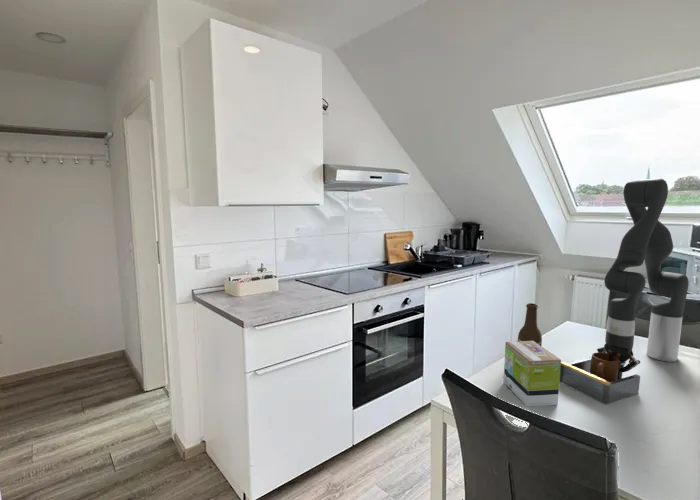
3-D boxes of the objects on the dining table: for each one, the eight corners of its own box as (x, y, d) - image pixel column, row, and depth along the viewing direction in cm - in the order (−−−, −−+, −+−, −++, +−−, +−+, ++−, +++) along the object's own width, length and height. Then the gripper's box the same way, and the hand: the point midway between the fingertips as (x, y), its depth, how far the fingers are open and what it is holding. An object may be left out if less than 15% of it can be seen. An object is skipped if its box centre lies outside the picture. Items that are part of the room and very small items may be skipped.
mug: (611, 397, 117) (614, 368, 116) (583, 388, 122) (585, 361, 121) (618, 383, 126) (621, 356, 125) (591, 376, 131) (594, 350, 130)
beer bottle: (538, 366, 139) (542, 302, 136) (541, 375, 132) (546, 308, 128) (515, 362, 142) (519, 300, 138) (516, 371, 134) (521, 306, 131)
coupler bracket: (590, 373, 133) (592, 354, 132) (638, 393, 119) (640, 373, 118) (559, 381, 127) (560, 362, 126) (605, 404, 113) (607, 383, 112)
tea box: (502, 383, 126) (504, 340, 124) (530, 381, 127) (533, 339, 125) (526, 407, 112) (529, 359, 109) (559, 406, 112) (562, 358, 110)
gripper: (649, 335, 120) (644, 387, 122) (607, 323, 132) (603, 370, 134) (634, 339, 117) (629, 392, 119) (592, 326, 129) (588, 374, 131)
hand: (615, 380), depth 127 cm, fingers closed
